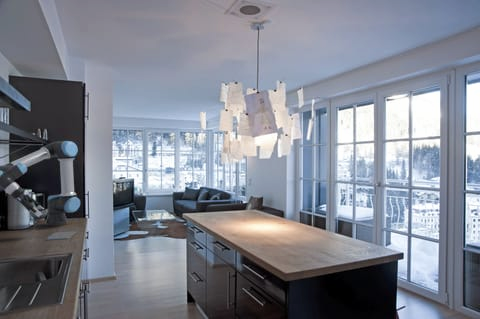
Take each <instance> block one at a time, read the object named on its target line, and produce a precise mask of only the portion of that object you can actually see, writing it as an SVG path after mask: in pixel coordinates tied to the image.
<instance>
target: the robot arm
mask: <svg viewBox="0 0 480 319" xmlns="http://www.w3.org/2000/svg"><path fill="white" fill-rule="evenodd" d="M78 151H79V150H78V146H77V144H76V143H75V142H74V141H69V140H63V141H62V140H61V141H59V140H58V141H53V142H51V143H48V144H46V145H44V146H42V147H40V149H38V150H36V151H34V152H31V153H29V154H27V155H25V156H22V157H21V158H18V159H16V160H13V161H12V162H9V163H6V164H2V165H0V188H1V190H4V191H5V193H6V194H8V195H10V197H12V198H13V199H14V200H16V201H18V202H19V203H20V204H21V205H22V206H23V207H24V208H25V209H26V210H27V211H28V212H30V211H32V212H33V213H34V214H35V215H36V216H38V217H39V216H41V215H42V213H41V212H39V211H38V210H37V209H45V208H44V207H42V205H41V203H40V202H39V201H37V200H35V199H34V198H33V197H32V196H30V195H29V194H25V192H26V190H25V189H24V188H22V187H21V186H20V185H19V184H18V183H17V182H16V181H15V180H16V179H19V178H20V177H21V176H23V175H24V174H25V173H27V171H28V167H31V166H32V165H35V164H37V163H40V162H41V161H44V160H49V159H51V158H56V157H57V160H58V161H59V167H60V168H59V170H60V171H59V172H60V187H61V189H60V190H61V193H60V194H54V195H49V196H48V197H47V209H48V212H47V215H46V220H45V224H44V226H46V227H57V226H64V225H68V219H67V216H66V213H68V214H69V213H74V212H77V211H78V209H79V208H80V206H81V200H80V199H79V198H78V197H77V193H76V192H75V183H74V181H75V180H74V163H73V161H74V160H75V158H76V157H75V156H77V154H78ZM31 202H34V204H35V206H36V208H37V209H36V208H35V207H33V206H32V205H31V204H30V203H31Z"/></svg>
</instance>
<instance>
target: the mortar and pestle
mask: <svg viewBox="0 0 480 319" xmlns="http://www.w3.org/2000/svg"><path fill="white" fill-rule="evenodd" d="M30 204H31V205H32V206H33V207H35V208H36V206H35V204H34V202H31V203H30ZM36 209H37V208H36ZM37 210H38V211H39V212H41V213H42V215H41V216H39V217H38V216H36V215H35V214H34V213H33V212H32V211H29V215H30V216H31V218H32V219H33V222H43V221H46V220H45V218H46V217H47V216H48V208H44V209H37Z"/></svg>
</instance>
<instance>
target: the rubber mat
mask: <svg viewBox="0 0 480 319" xmlns="http://www.w3.org/2000/svg"><path fill="white" fill-rule="evenodd" d="M75 233H76V231H61V232H60V231H59V232H56V231H55V232H53V233H51V235H50V236H48V237H47V238H46V239H45V241H55V240H69V239H70V238H71V237H73V235H74V234H75Z"/></svg>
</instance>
